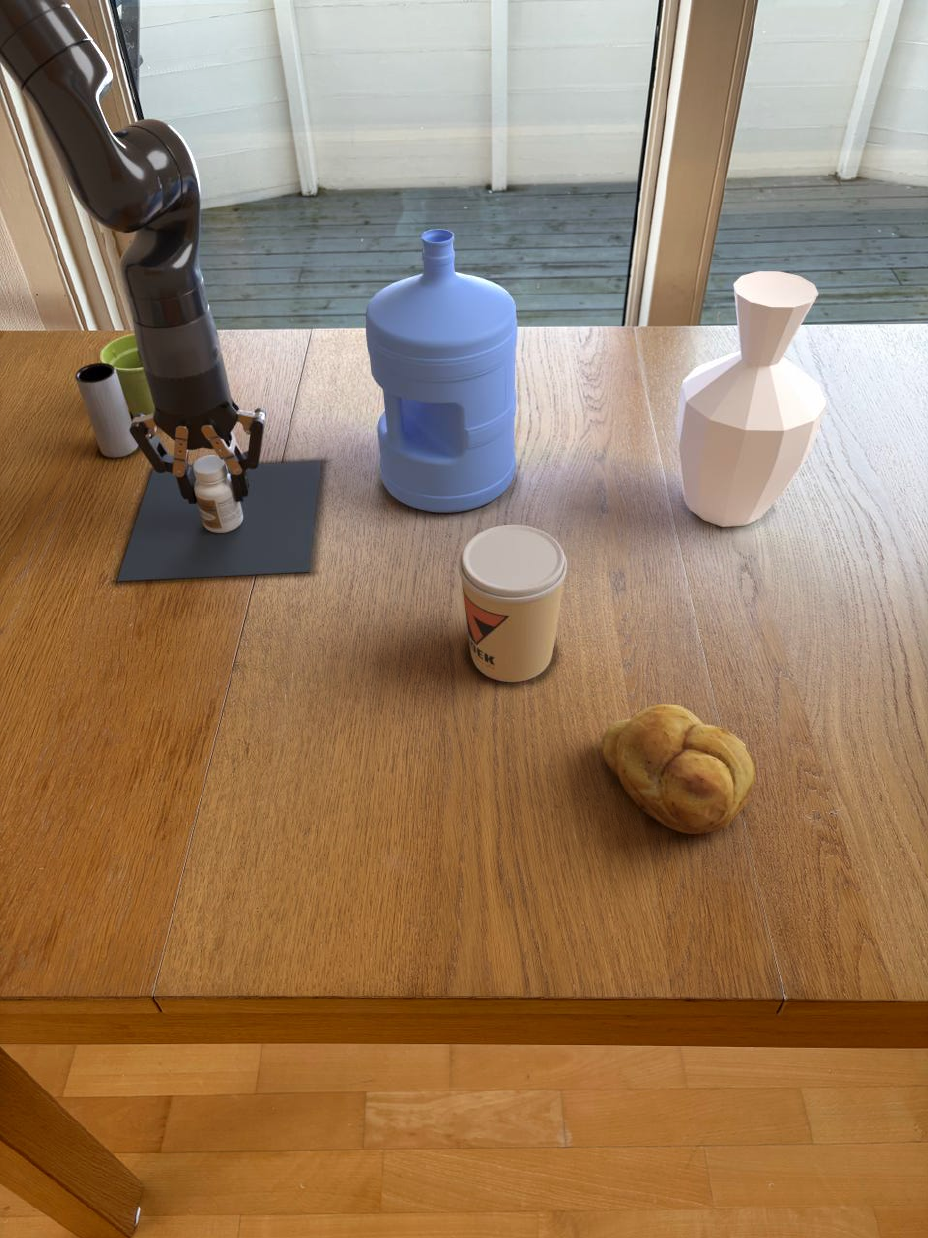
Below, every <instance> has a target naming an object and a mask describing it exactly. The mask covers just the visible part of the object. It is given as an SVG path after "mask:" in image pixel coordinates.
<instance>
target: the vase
mask: <svg viewBox="0 0 928 1238" xmlns="http://www.w3.org/2000/svg"><path fill="white" fill-rule="evenodd" d="M733 294H734V305H735V313H736V325H737V335H738V336H737V337H738V345H739V350H737V351H735V352H732V353H730V354H727V355H725V356H721V357H718V358H717V359H713V360H712V361H709V362H706V363H703V364H700V365H698V366H696V367H695V368H694V369H693V370H692V371H691V372H690V374H689V375H687V377H686V378H685V379H684V380H683V381H682V382H681V388H680V395H679V400H678V407H677V414H676V415H677V416H676V425H675V433H676V440H677V447H678V449H677V450H678V457H679V464H680V481H681V487H682V494H683V501H684V504H685V505H686V506H687V508H688V509H689V510H690V511H691V512H692V513H693V514H695V515H696V516H697V517H699V518H700V519H702V520H703V521H704V522H708V523H710V524H713V525H715V526H719V527H722V528H727V527H729V528H731V527H744V526H748V525H749V524H752V523H753V522H755V521H758V520H759V519H761V518H763V516H764V515H765V514H766V513H767V512H768V510H769V509H770V508H771V507H772V506H773V504H775V502H777V500H778V499H779V498H780V497H781V496H782V495H783V494H784V493H785V491H786V490H787V488H788V487H789V486H790V485H791V483H793V481H794V480H795V478H796V476H797V474H798V473H799V471H800V470H801V468H802V466H803V465H804V464H805V462H806V460H807V458H808V457H809V455H810V454H811V453H812V451H813V450H814V446H815V443H816V440H817V438H818V435H819V431H820V428H821V425H822V421H823V417H824V414H825V411H826V408H827V407H826V406H827V404H828V403H827V400H826V397H825V396H824V392H823V391H822V388H821V385H820V383H819V382H818V381H816V380H814V379H813V378H812V377H811V376H809V374H807V373H806V372H805V371H803V370H802V369H800V368H799V367H798V366H797V365H795V364H794V363H793V362H791V361H790V360H789V359H788V358H786V357H785V354H786V353H787V351H788V349H789V348H790V346H791V344H792V342H793V340H794V338H795V336H796V335H797V333H798V332H799V329H800V328H801V326H802V324H803V323H804V321H805V319H806V317H807V316H808V314H809V312H810V310H811V308H812V306H813V304H814V303H815V301H816V299H817V297H818V296H819V291H818V288H817V287H816V285H815V283H813V282H811V281H810V280H808V279H806V278H805V277H803V276H801V275H798V274H797V275H796V274H792V273H788V272H783V271H780V270H779V271H778V270H775V271H774V270H773V271H772V270H771V271H770V270H769V271H767V270H766V271H765V270H757V271H754V272H750V273H746V274H743V275H741V276H740V277H739V278H737V280H736V281H735V282H734V283H733Z"/></svg>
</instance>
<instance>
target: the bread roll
mask: <svg viewBox="0 0 928 1238" xmlns="http://www.w3.org/2000/svg"><path fill="white" fill-rule="evenodd" d="M601 746H602V747H601V751H602V752H601V753H602V755H603V759H604V761H605V763H606V765H607V766H608V768H609V769H610V770H611V771H612V773H614V774H615V775H616V776H617V777H618V779H619V782H620V784H621V786H622V788H623V790H624V791H625V793H626V794H627V795H628V797H629V798H630V799H631V800H633V802H635V804H636V805H637V806H638V807H639V808H640V810H642V811H643V812H644V813H646V814H647V815H648V816H649V817H651V818H653V819H654V820H655V821H657V822H658V823H660V824H662V825H663V826H665V827H667V828H668V829H671V830H673V831H677V832H679V833H682V834H685V835H690V834H691V835H700V834H701V835H702V834H707V833H711V832H715V831H717V830H720V829H723V828H727V827H728V826H729V825H730V824H731V823H732V821H733V820H734V818H735V817H736V816H737V815H738V814H739V813H740V812H741V811H742V810H743V809H744V808H746V804H747V802H748V800H749V797H750V795H751V794H752V791H753V787H754V784H755V781H756V777H755V776H756V775H755V773H756V771H755V768H754V767H755V766H754V763H753V760H752V756H751V754H750V753H749V751H748V750H747V749H746V746H747V744H745V743H744V742H743V740H741V739H739V737H737V736H736V735H735V734H733V733H731V732H730V731H729V730H728V729H726V728H722V727H719V726H715V725H713V724H705V723H703V721H702V720H701V719H699V718H698V717H697V716H696V715H695V714H694V713H693V712H691V710H688V709H687V708H685V707H683V706H682V705H679V704H665V703H664V704H663V703H660V704H656V705H653V706H649V707H646V708H643V709H642V710H640V711H638V712H637V713H636V714H634V715H633V716H632V717H631V718H629V719H626V718H625V719H620V720H617V721H614V722H613V723H611V724H610V725H609V726H608V727H607V728H606V730H605V732H604V734H603V737H602V741H601Z"/></svg>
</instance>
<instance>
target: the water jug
mask: <svg viewBox="0 0 928 1238" xmlns="http://www.w3.org/2000/svg"><path fill="white" fill-rule="evenodd" d="M420 241H421V242H422V245H423V246H422V247H423V250H422V252H421V258H422V262H423V263H422V264H423V271H422V273H420V274H417V275H414V276H411V277H407V278H404V279H401V280H398V281H396V282H393V283H391V284H389V285H387V286H385V287H383V288H382V289H381V290H379V291H378V292H376V293H375V295H374V296H373V297H371V299H370V301H369V302H368V303H367V306H366V310H365V338H366V347H367V352H368V355H369V362H370V372H371V376H372V378H373V380H374V381H375V383H376V384H377V385H378V386H379V387H380V389H382V394H383V395H382V396H383V404H384V411H383V412H382V413H381V415H380V416H379V419H378V421H377V426H376V427H377V428H376V432H377V441H378V450H379V457H378V458H379V459H378V463H379V474H380V478H381V479H380V480H381V481H382V484H383V486H384V488H385V489H386V490H387V492H388V493H389V494H390V495H391V496H392V497H393V498H395V499H396V500H397V501H399V502H400V503H402V504H404V505H406V506H408V507H411V508H414V509H416V510H420V511H424V512H430V513H441V514H442V513H444V514H447V513H448V514H449V513H459V512H465V511H470V510H473V509H478V508H480V507H482V506H485V505H488V504H490V503H491V502H493V501H495V500H496V499H498V498H499V497H500V496H501V495H502V494H504V493H505V492H506V490H507V489H508V488H509V487H510V485H511V484H512V482H513V479H514V477H515V474H516V473H515V472H516V453H515V421H516V412H517V391H516V390H517V389H516V355H517V354H516V353H517V352H516V351H517V345H518V320H517V307H516V306H517V305H516V302H515V300H514V298H513V297H512V296H511V294H510V293H509V292H508V291H507V290H506V289H504V287H502V286H501V285H499V284H497V283H495V282H493V281H490V280H489V279H485V278H483V277H480V276H479V277H478V276H474V275H469V274H465V273H461V272H456V270H455V269H456V268H455V258H456V252H455V249H454V244H453V243H454V241H455V233H453V231H450V230H447V229H441V228H437V229H429V230H427V231H425V232H423V233H421V236H420Z"/></svg>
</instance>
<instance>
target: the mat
mask: <svg viewBox="0 0 928 1238" xmlns="http://www.w3.org/2000/svg"><path fill="white" fill-rule="evenodd" d="M192 468H193V466H192ZM227 468H228V466H227ZM321 469H322V460H313V461H293V462H271V463H270V462H269V463H259V464H258V467H257V468H256V469H250V468H249V469H247V474H248V479H249V483H250V487H249V492H248V496H247V497H244V501H243V502H240V505H241V509H242V514H243V521H242V523H241V524H240V525H239V526H238V527H237V528H236V529H234V530H232V531H229V532H226V533H215V532H211V531H209V530H207V529H206V528H205V526H204V525H203V521H202V518H201V514H200V510H199V507H198V503H196V504H189V502H188V499H184V498H183V497H182V496H181V493H180V489H179V486H178V482H177V478H176V476H174V474H173V473H171V472H167V471H165V472H164V473H158V472H156V471H155V470H154V468H152V470H151V474H150V477H149V480H148V483H147V486H146V489H145V493H144V495H143V499H142V501H141V505H140V507H139V510H138V514H137V517H136V519H135V524H134V526H133V530H132V533H131V536H130V539H129V542H128V545H127V548H126V551H125V554H124V557H123V561H122V564H121V566H120V569H119V572H118V573H119V574H118V576H117V579H116V582H117V583H121V582H122V583H123V582H142V581H144V582H145V581H161V580H163V581H164V580H183V579H201V578H202V579H203V578H222V577H223V578H224V577H245V576H259V575H260V576H263V575H266V576H267V575H281V574H282V575H284V574H285V575H287V574H303V573H304V574H305V573H310V572H311V565H312V555H313V554H312V553H313V545H314V536H315V524H316V516H317V509H318V508H317V506H318V497H319V489H320V479H321ZM193 472H194V470H193ZM228 473H229V474H231V471H230V469H229V468H228ZM194 476H195V474H194ZM195 480H196V477H195Z"/></svg>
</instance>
